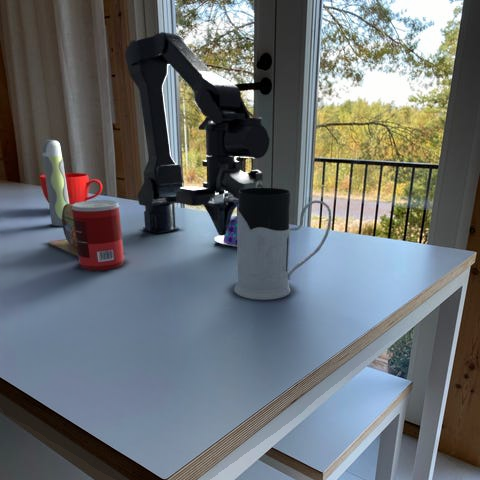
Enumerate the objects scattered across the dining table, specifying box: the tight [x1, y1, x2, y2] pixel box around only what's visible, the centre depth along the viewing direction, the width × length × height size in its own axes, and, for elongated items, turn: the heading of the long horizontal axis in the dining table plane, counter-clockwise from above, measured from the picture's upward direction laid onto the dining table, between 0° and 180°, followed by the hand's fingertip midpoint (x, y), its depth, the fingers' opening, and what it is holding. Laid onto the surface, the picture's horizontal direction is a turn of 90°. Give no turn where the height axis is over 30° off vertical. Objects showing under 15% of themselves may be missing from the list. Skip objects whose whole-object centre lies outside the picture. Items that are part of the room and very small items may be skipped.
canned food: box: [72, 199, 125, 271], centre depth 84 cm, size 8×8×11 cm
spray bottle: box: [41, 139, 69, 227], centre depth 115 cm, size 5×5×20 cm
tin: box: [62, 204, 77, 247], centre depth 96 cm, size 15×3×8 cm, turn 40°
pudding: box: [213, 215, 237, 248], centre depth 101 cm, size 12×12×5 cm
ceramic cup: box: [39, 172, 103, 204], centre depth 135 cm, size 13×17×10 cm
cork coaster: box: [47, 238, 79, 258], centre depth 97 cm, size 7×18×1 cm, turn 43°
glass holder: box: [233, 187, 332, 301], centre depth 71 cm, size 9×14×15 cm, turn 88°
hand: (221, 235), depth 98 cm, fingers closed
